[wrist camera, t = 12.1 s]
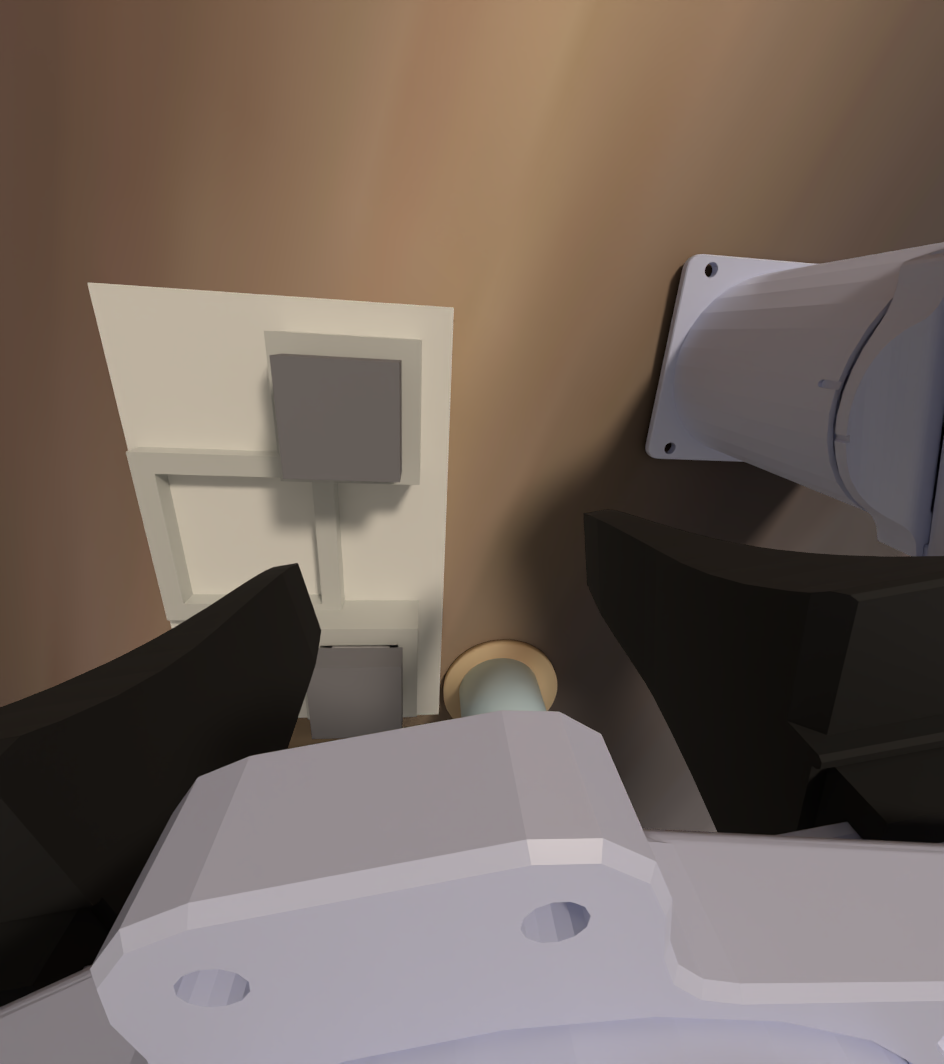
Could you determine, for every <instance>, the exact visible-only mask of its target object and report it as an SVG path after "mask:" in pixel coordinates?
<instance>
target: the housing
mask: <svg viewBox="0 0 944 1064" xmlns="http://www.w3.org/2000/svg"><path fill="white" fill-rule="evenodd" d="M88 287H89V292H90V296H91V300H92V304H93V308H94V312H95V316H96V320H97V324H98V328H99V333H100V337H101V341H102V345H103V349H104V353H105V357H106V361H107V365H108V369H109V373H110V378H111V382H112V386H113V390H114V394H115V398H116V402H117V406H118V410H119V414H120V419H121V423H122V427H123V431H124V435H125V439H126V443H127V447H128V451H126V455H127V459H128V463H129V467H130V471H131V475H132V479H133V483H134V487H135V491H136V495H137V499H138V503H139V507H140V511H141V515H142V519H143V523H144V528H145V532H146V536H147V540H148V544H149V548H150V552H151V556H152V560H153V564H154V568H155V572H156V576H157V580H158V584H159V588H160V592H161V596H162V601H163V605H164V609H165V613H166V617H167V620H170V623H171V627H172V628H174V627H176V626H177V625H179V624H181V623H182V622H184V621H185V620H187V619H189V618H190V617H192V616H194V615H195V614H197V613H199V612H200V611H202V610H203V609H205V608H207V607H208V606H210V605H211V604H213V603H214V602H216V601H218V600H219V599H221V598H222V597H224V596H225V595H227V594H228V593H230V592H231V591H233V590H234V589H236V588H237V587H239V586H241V585H242V584H244V583H245V582H247V581H248V580H250V579H252V578H253V577H255V576H257V575H258V574H260V573H262V572H264V571H266V570H268V569H270V568H272V567H276V566H282V565H288V564H294V563H298V564H299V567H300V570H301V573H302V576H303V579H304V582H305V585H306V588H307V590H308V593H309V596H310V599H311V602H312V605H313V608H314V611H315V614H316V616H317V619H318V622H319V625H320V628H321V636H320V643H319V648H332V646H333V645H391V647H403V717H417V715H431V714H439V691H440V664H441V637H442V610H443V583H444V556H445V529H446V503H447V476H448V449H449V422H450V395H451V368H452V341H453V314H454V308H452V307H437V306H422V305H408V304H393V303H379V302H364V301H349V300H335V299H320V298H306V297H291V296H276V295H262V294H247V293H233V292H218V291H203V290H189V289H174V288H160V287H145V286H130V285H116V284H101V283H88ZM275 354H300V355H318V356H336V357H354V358H372V359H390V360H402V474H401V480H400V482H370V481H334V480H299V479H283V474H282V465H281V456H280V447H279V438H278V429H277V420H276V411H275V402H274V393H273V384H272V375H271V366H270V357H269V355H275ZM298 718H308V720H310V716H309V707H308V697H307V693H306V696H305V699H304V701H303V704H302V707H301V710H300V713H299V716H298Z"/></svg>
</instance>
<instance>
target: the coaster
mask: <svg viewBox="0 0 944 1064" xmlns="http://www.w3.org/2000/svg"><path fill="white" fill-rule="evenodd" d="M496 658H509V659H514V660H517V661H520V662H522V663H524V664H526V665H527V666H528V667H529V668H530V669H531V670H532V671H533V672H534V674H535V676H536V678H537V682H538V685H539V688H540V691H541V694H542V698H543V701H544V704H545V707H546V710H547V711H548V710H549V708H550V707H551V705H552V704H553V702H554V699H555V697H556V693H557V678H556V674H555V671H554V668H553V666H552V664H551V662H550V660H549V659H548V657H547V656H546V655H545V654H544V653H543V652H541V651H540V650H539V649H537V648H536V647H534V646H532V645H530V644H528V643H525V642H521V641H517V640H506V639H503V640H493V641H488V642H485V643H481V644H479V645H476V646H474V647H472V648H470V649H468V650H467V651H465V652H464V653H463V654H461V655H460V656H459V657H458V658H457V659H456V660H455V661H454V662H453V663H452V665H451V666H450V668H449V669H448V671H447V673H446V676H445V679H444V685H443V693H444V703H445V706H446V709H447V711H448V712H449V714H450V716H451V717H452V718H453V719H456V718H461V709H460V697H459V688H460V684H461V682H462V680H463V678H464V676H465V675H466V674H467V673H468V671H470V670H471V669H472V668H473V667H475V666H476V665H478V664H480V663H482V662H484V661H487V660H491V659H496Z"/></svg>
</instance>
